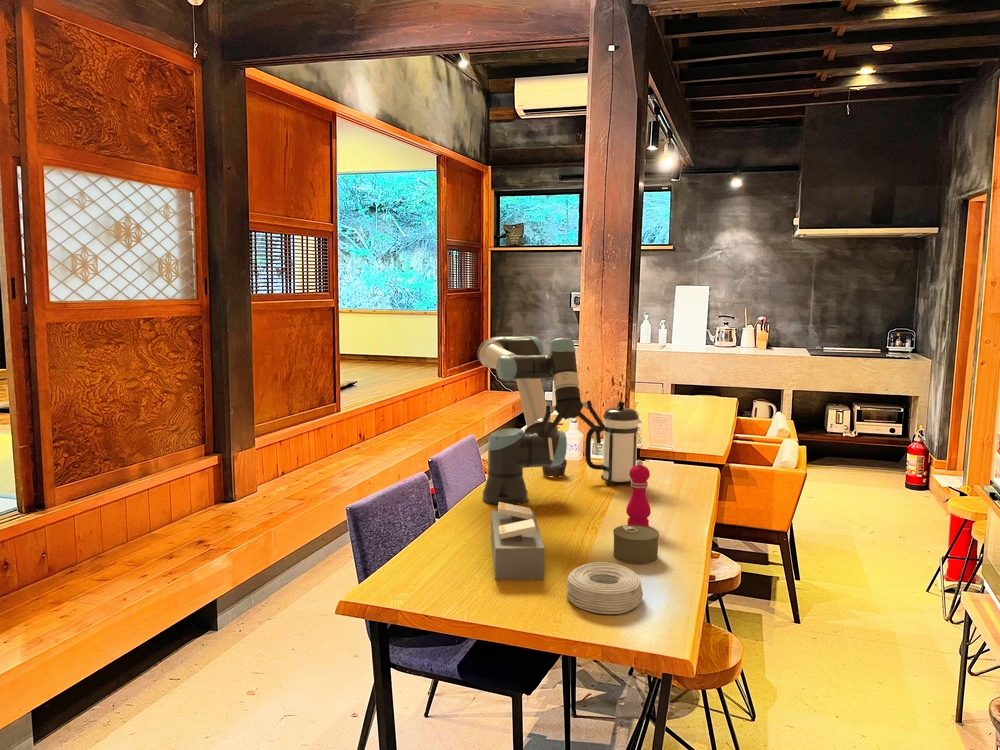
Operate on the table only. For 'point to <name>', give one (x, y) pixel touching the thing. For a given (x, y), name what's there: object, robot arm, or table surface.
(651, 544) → the can
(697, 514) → the table surface
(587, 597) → the cable
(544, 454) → the robot arm
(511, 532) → the rocker
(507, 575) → the rocker switch box
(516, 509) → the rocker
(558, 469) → the cupcake
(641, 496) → the pepper mill
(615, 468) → the coffee press
